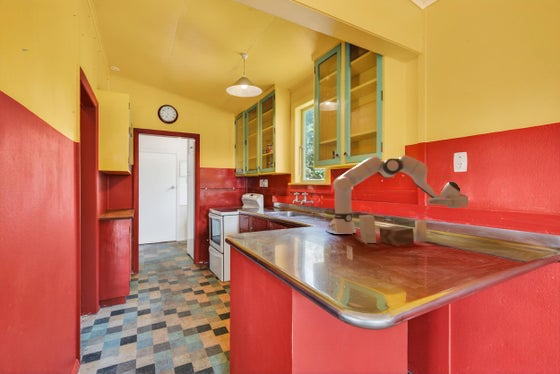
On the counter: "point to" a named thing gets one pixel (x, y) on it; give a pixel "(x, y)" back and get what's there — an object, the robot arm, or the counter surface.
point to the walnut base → (397, 235)
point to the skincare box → (367, 228)
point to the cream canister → (421, 231)
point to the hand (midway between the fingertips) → (436, 202)
